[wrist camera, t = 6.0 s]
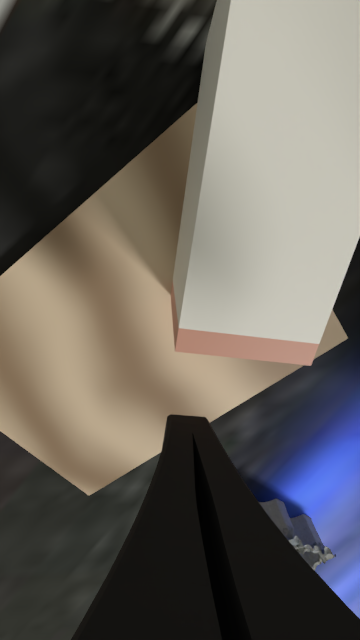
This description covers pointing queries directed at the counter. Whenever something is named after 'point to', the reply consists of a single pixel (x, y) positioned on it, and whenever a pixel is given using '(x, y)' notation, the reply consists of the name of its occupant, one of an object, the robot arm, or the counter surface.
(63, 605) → the counter surface
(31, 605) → the counter surface
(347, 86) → the cream block
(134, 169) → the wooden board
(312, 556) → the egg carton
